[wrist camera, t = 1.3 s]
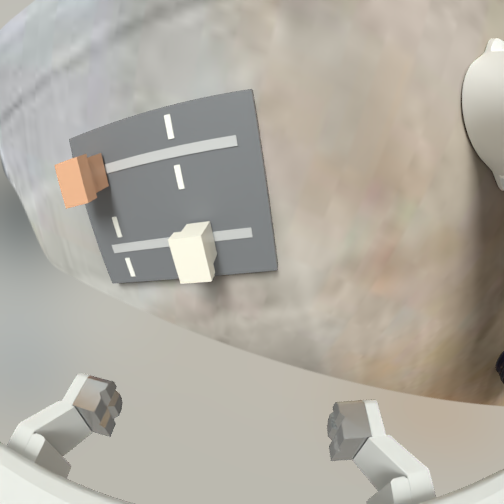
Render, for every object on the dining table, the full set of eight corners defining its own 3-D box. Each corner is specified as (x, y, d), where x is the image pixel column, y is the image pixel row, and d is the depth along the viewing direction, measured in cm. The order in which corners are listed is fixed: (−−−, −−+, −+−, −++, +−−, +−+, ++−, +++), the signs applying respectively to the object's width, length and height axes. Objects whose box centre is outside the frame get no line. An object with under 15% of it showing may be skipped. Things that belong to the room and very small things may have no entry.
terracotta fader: (102, 148, 26) (76, 156, 22) (112, 189, 28) (88, 202, 24) (81, 155, 26) (54, 165, 22) (90, 194, 28) (66, 208, 24)
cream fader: (212, 216, 28) (200, 235, 24) (220, 257, 30) (212, 281, 26) (182, 220, 29) (167, 239, 25) (193, 260, 31) (180, 283, 27)
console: (252, 90, 24) (251, 89, 23) (277, 263, 32) (277, 270, 31) (76, 137, 27) (68, 139, 26) (117, 277, 35) (112, 283, 33)
